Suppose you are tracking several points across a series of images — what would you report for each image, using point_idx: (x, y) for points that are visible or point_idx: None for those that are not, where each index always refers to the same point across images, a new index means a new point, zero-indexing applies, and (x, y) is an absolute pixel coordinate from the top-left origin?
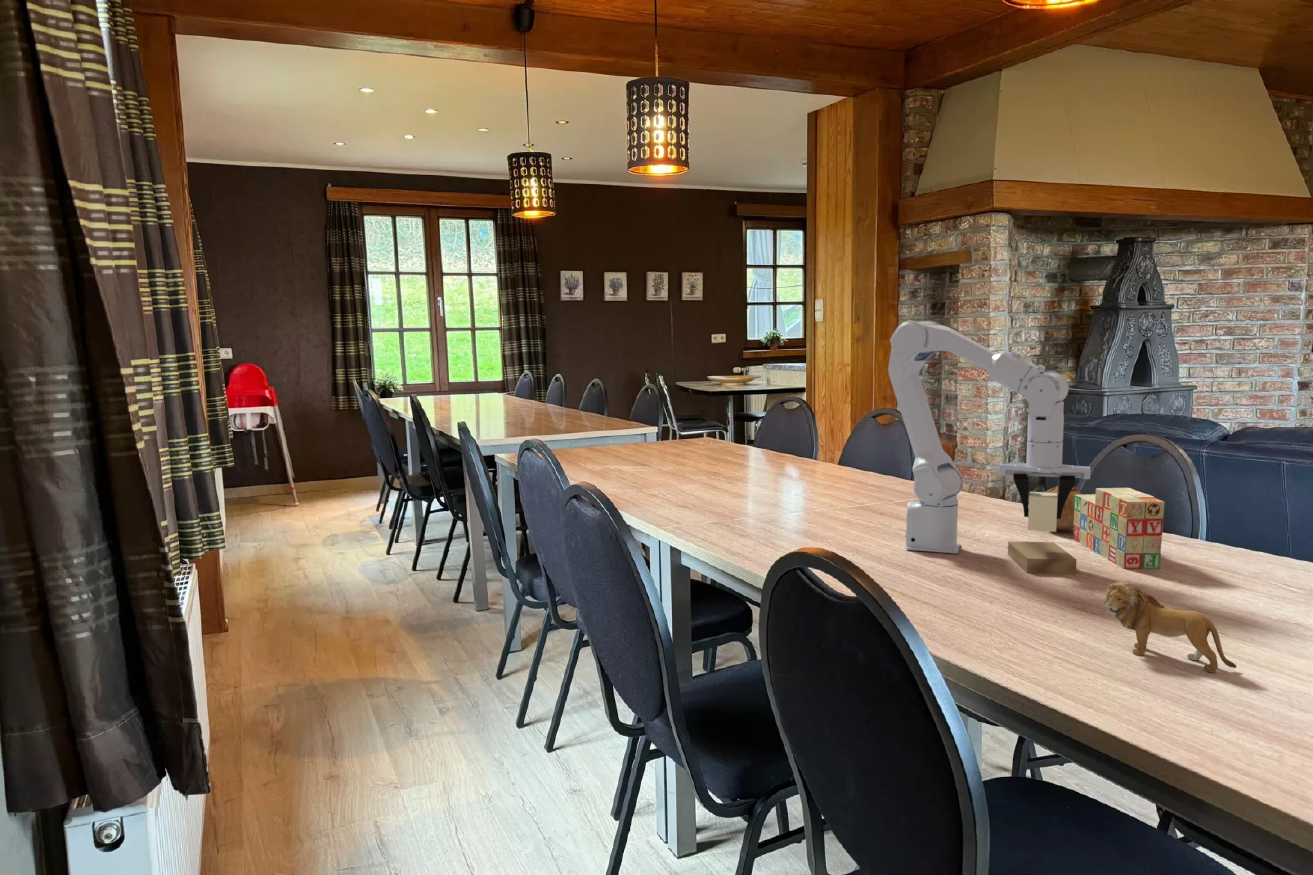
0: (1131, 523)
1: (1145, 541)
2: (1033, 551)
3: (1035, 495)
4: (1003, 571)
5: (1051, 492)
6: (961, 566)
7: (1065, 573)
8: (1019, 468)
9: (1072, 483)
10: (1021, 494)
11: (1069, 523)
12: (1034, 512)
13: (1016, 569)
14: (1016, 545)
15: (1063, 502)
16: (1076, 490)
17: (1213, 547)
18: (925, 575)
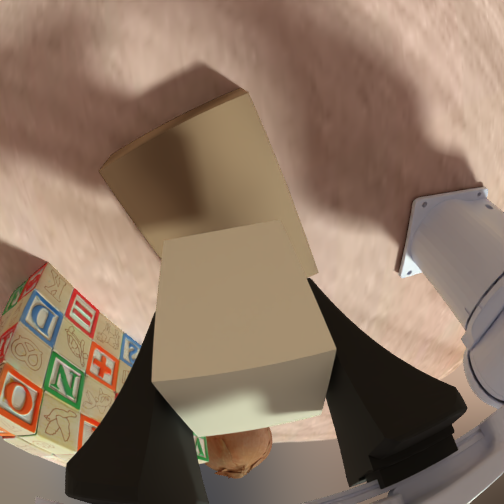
0: (2, 353)
1: (4, 326)
2: (241, 198)
3: (295, 382)
4: (307, 77)
5: (253, 459)
6: (408, 92)
7: (135, 140)
8: (460, 495)
9: (67, 479)
10: (379, 351)
11: None
12: (273, 280)
13: (274, 114)
14: (296, 244)
15: (134, 374)
16: (217, 470)
17: None
18: (458, 2)
